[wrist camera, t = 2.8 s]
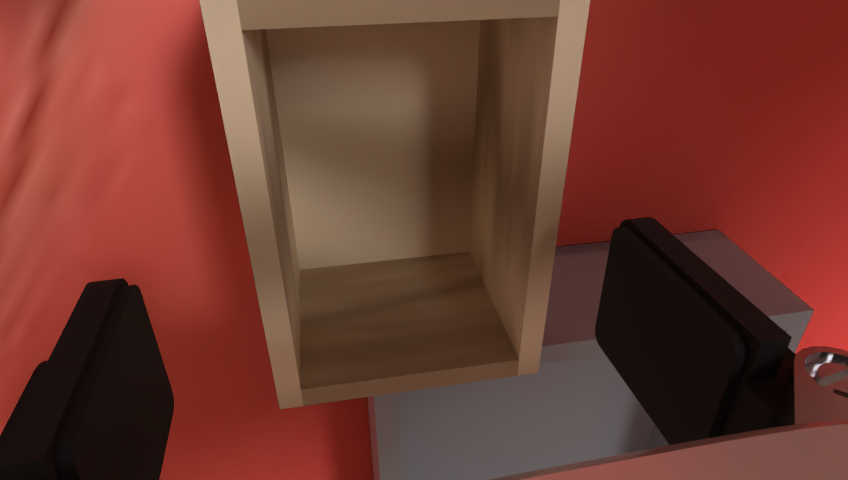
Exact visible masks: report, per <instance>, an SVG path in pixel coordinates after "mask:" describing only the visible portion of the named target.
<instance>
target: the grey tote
mask: <svg viewBox="0 0 848 480" xmlns="http://www.w3.org/2000/svg"><path fill="white" fill-rule="evenodd" d="M673 235H674V236H675V237H676V238H677V239H678V240H680V241H681V242H682V243H683V244H684V245H685V246H687V247H688V248H689V249H690V250H691V251H692V252H693V253H695V254H696V255H697V256H698V257H699V258H700V259H702V260H703V261H704V262H705V263H706V264H707V265H709V266H710V267H711V268H712V269H713V270H714V271H716V272H717V273H718V274H719V275H720V276H721V277H722V278H724V279H725V280H726V281H727V282H728V283H729V284H731V285H732V286H733V287H734V288H735V289H736V290H738V291H739V292H740V293H741V294H742V295H743V296H745V297H746V298H747V299H748V300H749V301H750V302H751V303H753V304H754V305H755V306H756V307H757V308H758V309H760V310H761V311H762V312H763V313H764V314H765V315H767V316H768V317H769V318H770V319H771V320H772V321H774V322H775V323H776V324H777V325H778V326H779V327H780V328H782V329H783V330H784V331H785V332H786V333H787V334H789V335H790V336H791V337H792V338H791V341H790V343H789V346H788V348H789V349H790V350H792V351H793V352H794V353H795V351H796V349H797V346H798V344H799V342H800V340H801V338H802V335H803V333H804V331H805V329H806V327H807V324H808V322H809V320H810V318H811V316H812V313H813V311H814V310H813V309H812V308H811V307H810V306H809V305H807V304H806V303H805V302H804V301H803V300H801V299H800V298H799V297H798V296H797V295H795V294H794V293H793V292H792V291H791V290H790V289H788V288H787V287H786V286H785V285H784V284H782V283H781V282H780V281H779V280H778V279H776V278H775V277H774V276H773V275H772V274H770V273H769V272H768V271H767V270H766V269H765V268H763V267H762V266H761V265H760V264H759V263H757V262H756V261H755V260H754V259H753V258H751V257H750V256H749V255H748V254H747V253H745V252H744V251H743V250H742V249H741V248H740V247H738V246H737V245H736V244H735V243H734V242H732V241H731V240H730V239H729V238H728V237H726V236H725V235H724V234H723V233H722V232H721V231H719V230H710V231H701V232H692V233H682V234H673ZM610 243H611V241H608V242H598V243H589V244H580V245H570V246H561V247H556V249H555V256H554V264H553V271H552V278H551V285H550V292H549V299H548V306H547V314H546V321H545V328H544V335H543V342H542V349H541V356H540V363H539V371H538V373H534V374H527V375H520V376H513V377H506V378H499V379H492V380H485V381H478V382H471V383H463V384H456V385H449V386H442V387H435V388H428V389H421V390H414V391H407V392H400V393H393V394H385V395H378V396H371V397H367V403H368V416H369V428H370V441H371V453H372V466H373V479H374V480H488V479H493V478H499V477H504V476H509V475H514V474H519V473H525V472H530V471H535V470H540V469H545V468H551V467H556V466H561V465H566V464H572V463H577V462H582V461H588V460H593V459H598V458H604V457H609V456H614V455H620V454H625V453H631V452H636V451H641V450H647V449H652V448H657V447H663V446H668V445H669V444H668V442H667V441H666V439H665V438H664V437H663V435H662V434H661V432H660V431H659V430H658V428H657V427H656V425H655V424H654V422H653V421H652V420H651V418H650V417H649V415H648V414H647V413H646V411H645V410H644V408H643V407H642V406H641V404H640V403H639V401H638V400H637V398H636V397H635V396H634V394H633V393H632V391H631V390H630V389H629V387H628V386H627V384H626V383H625V382H624V380H623V379H622V377H621V376H620V374H619V373H618V372H617V370H616V369H615V367H614V366H613V365H612V363H611V362H610V360H609V359H608V358H607V356H606V355H605V353H604V352H603V350H602V349H601V348H600V346H599V344H598V343H597V340H596V336H595V325H596V320H597V314H598V309H599V303H600V298H601V292H602V287H603V281H604V276H605V270H606V265H607V259H608V254H609V248H610Z"/></svg>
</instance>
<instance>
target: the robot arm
mask: <svg viewBox="0 0 848 480" xmlns="http://www.w3.org/2000/svg"><path fill="white" fill-rule="evenodd" d="M595 336H596V340H597V343H598V344H599V346H600V348H601V349H602V350H603V352H604V353H605V355H606V356H607V358H608V359H609V360H610V362H611V363H612V365H613V366H614V367H615V369H616V370H617V372H618V373H619V374H620V376H621V377H622V379H623V380H624V382H625V383H626V384H627V386H628V387H629V389H630V390H631V391H632V393H633V394H634V396H635V397H636V398H637V400H638V401H639V403H640V404H641V406H642V407H643V408H644V410H645V411H646V413H647V414H648V415H649V417H650V418H651V420H652V421H653V422H654V424H655V425H656V427H657V428H658V430H659V431H660V432H661V434H662V435H663V437H664V438H665V439H666V441H667V442H668V444H669V445H668V446H663V447H657V448H652V449H647V450H641V451H636V452H631V453H625V454H620V455H614V456H609V457H604V458H598V459H593V460H588V461H582V462H577V463H572V464H566V465H561V466H556V467H551V468H545V469H540V470H535V471H530V472H525V473H519V474H514V475H509V476H504V477H499V478H493V479H488V480H848V352H847V351H844V350H842V349H837V348H832V347H826V346H812V347H808V348H804V349H802V350H801V351H799V352H798V353H797V354H795V353H794V352H793V351H792V350H790V349H789V348H788V346H789V343H790V341H791V338H792V337H791V336H790V335H789V334H787V333H786V332H785V331H784V330H783V329H782V328H780V327H779V326H778V325H777V324H776V323H775V322H774V321H772V320H771V319H770V318H769V317H768V316H767V315H765V314H764V313H763V312H762V311H761V310H760V309H758V308H757V307H756V306H755V305H754V304H753V303H751V302H750V301H749V300H748V299H747V298H746V297H745V296H743V295H742V294H741V293H740V292H739V291H738V290H736V289H735V288H734V287H733V286H732V285H731V284H729V283H728V282H727V281H726V280H725V279H724V278H722V277H721V276H720V275H719V274H718V273H717V272H716V271H714V270H713V269H712V268H711V267H710V266H709V265H707V264H706V263H705V262H704V261H703V260H702V259H700V258H699V257H698V256H697V255H696V254H695V253H693V252H692V251H691V250H690V249H689V248H688V247H687V246H685V245H684V244H683V243H682V242H681V241H680V240H678V239H677V238H676V237H675V236H674V235H673V234H671V233H670V232H669V231H668V230H667V229H666V228H664V227H663V226H662V225H661V224H660V223H659V222H658V221H656V220H655V219H654V218H652V217H646V218H637V219H629V220H624V221H622V222H621V224H620V226H619V228H616V229H614V231H613V233H612V237H611V243H610V248H609V254H608V259H607V265H606V270H605V276H604V281H603V287H602V292H601V298H600V303H599V309H598V314H597V320H596V325H595ZM173 410H174V398H173V393H172V389H171V386H170V383H169V379H168V376H167V373H166V370H165V367H164V364H163V360H162V357H161V354H160V351H159V348H158V345H157V341H156V338H155V335H154V332H153V329H152V326H151V323H150V319H149V316H148V313H147V310H146V307H145V304H144V300H143V297H142V294H141V291H140V289H139V287H138V286H137V285H130V286H129V285H128V283H127V282H126V280H125V279H123V278H122V279H113V280H105V281H96V282H90V283H88V284H87V285H86V286H85V288H84V290H83V292H82V294H81V296H80V298H79V300H78V302H77V304H76V306H75V308H74V310H73V312H72V314H71V316H70V318H69V320H68V322H67V324H66V326H65V328H64V330H63V332H62V334H61V336H60V338H59V340H58V342H57V344H56V346H55V348H54V350H53V352H52V354H51V356H50V358H49V360H48V361H44V362H42V363H40V364H39V365H38V366H37V368H36V369H35V370H34V372H33V374H32V376H31V378H30V380H29V382H28V384H27V386H26V387H25V389H24V391H23V393H22V395H21V397H20V399H19V401H18V403H17V405H16V407H15V409H14V410H13V412H12V414H11V416H10V418H9V420H8V422H7V424H6V426H5V428H4V430H3V432H2V434H1V435H0V480H159V478H160V473H161V468H162V464H163V459H164V454H165V449H166V444H167V440H168V435H169V430H170V425H171V421H172V416H173Z"/></svg>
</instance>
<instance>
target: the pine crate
mask: <svg viewBox="0 0 848 480" xmlns="http://www.w3.org/2000/svg"><path fill="white" fill-rule="evenodd" d="M199 1H200V6H201V11H202V16H203V21H204V26H205V31H206V36H207V42H208V47H209V52H210V57H211V62H212V67H213V72H214V77H215V82H216V87H217V92H218V98H219V103H220V108H221V113H222V118H223V123H224V128H225V133H226V138H227V143H228V148H229V154H230V159H231V164H232V169H233V174H234V179H235V184H236V189H237V194H238V199H239V204H240V210H241V215H242V220H243V225H244V230H245V235H246V240H247V245H248V250H249V255H250V260H251V266H252V271H253V276H254V281H255V286H256V291H257V296H258V301H259V306H260V311H261V316H262V322H263V327H264V332H265V337H266V342H267V347H268V352H269V357H270V362H271V367H272V372H273V378H274V383H275V388H276V393H277V398H278V403H279V408H280V409H286V408H293V407H300V406H307V405H315V404H322V403H329V402H336V401H343V400H350V399H357V398H364V397H371V396H378V395H385V394H393V393H400V392H407V391H414V390H421V389H428V388H435V387H442V386H449V385H456V384H463V383H471V382H478V381H485V380H492V379H499V378H506V377H513V376H520V375H527V374H534V373H538V371H539V363H540V356H541V349H542V342H543V335H544V328H545V321H546V314H547V306H548V299H549V292H550V285H551V278H552V271H553V264H554V256H555V249H556V242H557V235H558V228H559V221H560V214H561V206H562V199H563V192H564V185H565V178H566V171H567V164H568V156H569V149H570V142H571V135H572V128H573V121H574V114H575V106H576V99H577V92H578V85H579V78H580V71H581V64H582V56H583V49H584V42H585V35H586V28H587V21H588V14H589V6H590V0H199Z"/></svg>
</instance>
